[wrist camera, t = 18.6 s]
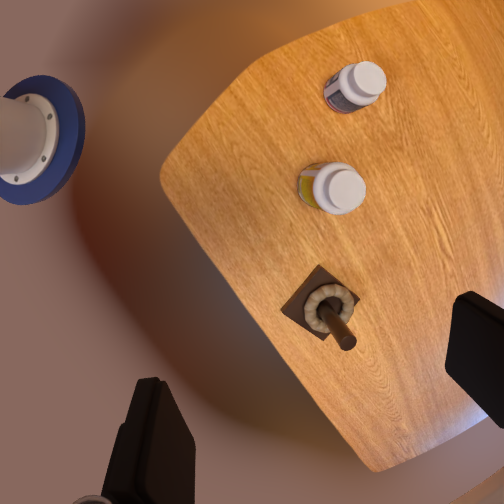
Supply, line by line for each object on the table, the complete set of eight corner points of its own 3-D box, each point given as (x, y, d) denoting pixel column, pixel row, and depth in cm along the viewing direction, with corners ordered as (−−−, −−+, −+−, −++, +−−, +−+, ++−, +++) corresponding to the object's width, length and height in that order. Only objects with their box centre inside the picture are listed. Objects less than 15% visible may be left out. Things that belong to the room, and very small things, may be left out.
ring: (293, 304, 41) (295, 309, 39) (335, 272, 40) (339, 276, 39) (319, 337, 43) (322, 343, 41) (359, 308, 42) (363, 313, 40)
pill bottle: (362, 114, 36) (395, 102, 28) (325, 114, 36) (352, 100, 27) (356, 77, 35) (387, 58, 26) (320, 76, 35) (344, 54, 26)
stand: (280, 309, 42) (298, 353, 31) (318, 264, 41) (349, 296, 30) (321, 337, 44) (346, 382, 33) (357, 296, 43) (393, 332, 32)
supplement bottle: (319, 215, 39) (349, 230, 29) (287, 187, 38) (308, 193, 28) (346, 183, 38) (383, 188, 29) (314, 154, 37) (344, 149, 27)
